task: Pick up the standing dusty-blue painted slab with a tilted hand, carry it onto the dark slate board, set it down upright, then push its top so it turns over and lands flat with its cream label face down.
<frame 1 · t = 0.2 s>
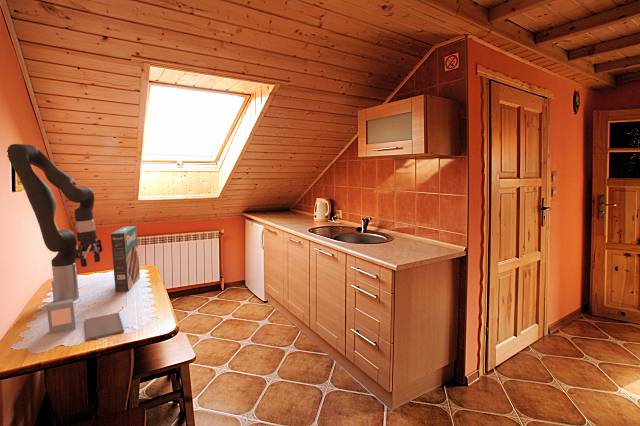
hand: (91, 264, 165), 18 cm above the table, tool pointing down, fingers open, 8 cm apart
cake mix box: (128, 284, 190), on the table
slab: (63, 329, 137), on the table
slate board: (103, 326, 140), on the table
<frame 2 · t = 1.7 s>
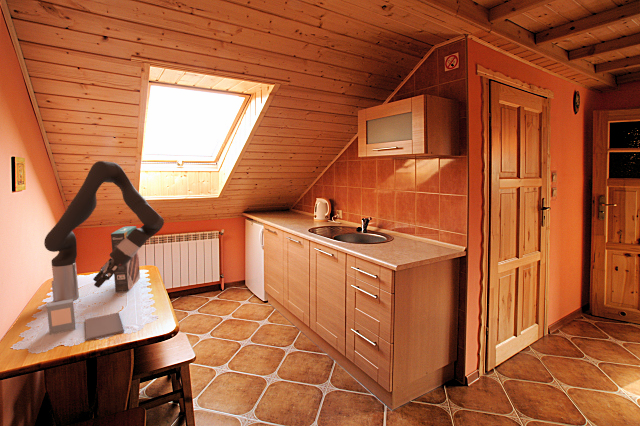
hand: (95, 283, 142), 16 cm above the table, tool tilted 45°, fingers open, 8 cm apart
nothing on the table moved.
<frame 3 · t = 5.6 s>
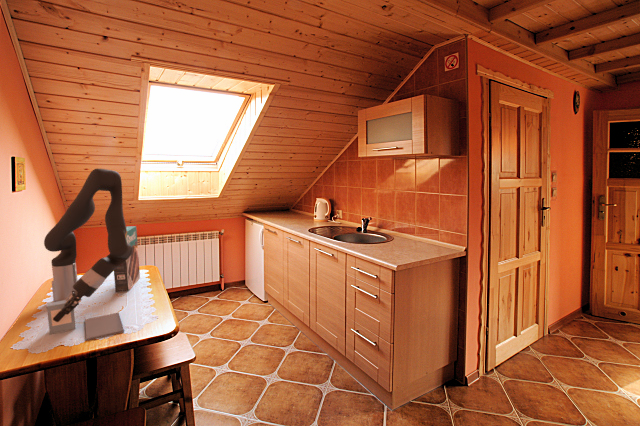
hand: (55, 318, 136), 5 cm above the table, tool tilted 45°, fingers closed on slab, 4 cm apart
slab: (63, 329, 137), on the table, touching gripper
everything else where it was.
when the fingers open (7 cm above the table, at t = 11.0 s): slab stays where it is, resting on slate board.
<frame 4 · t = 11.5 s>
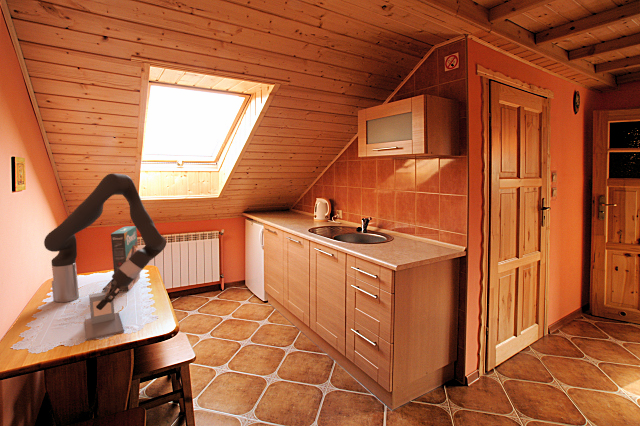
hand: (97, 305, 142), 7 cm above the table, tool tilted 45°, fingers open, 8 cm apart
slab: (103, 319, 144), point 1 cm above the table, touching slate board
everything else where it was.
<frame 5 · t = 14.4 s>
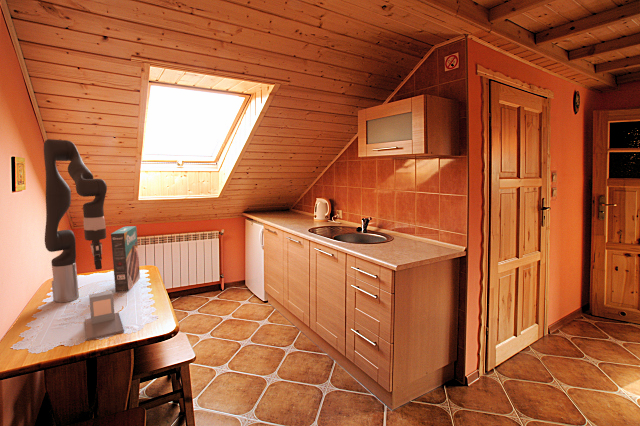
hand: (98, 266, 147), 21 cm above the table, tool pointing down, fingers open, 6 cm apart
nothing on the table moved.
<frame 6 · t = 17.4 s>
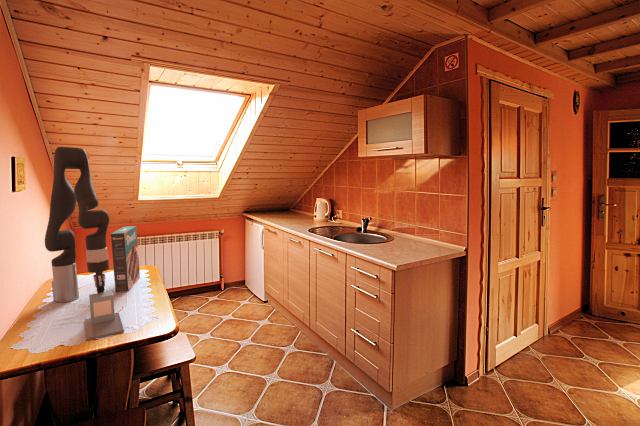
hand: (101, 300, 146), 8 cm above the table, tool pointing down, fingers closed
slab: (103, 319, 144), point 1 cm above the table, tilted 8°, touching slate board
everything else where it was.
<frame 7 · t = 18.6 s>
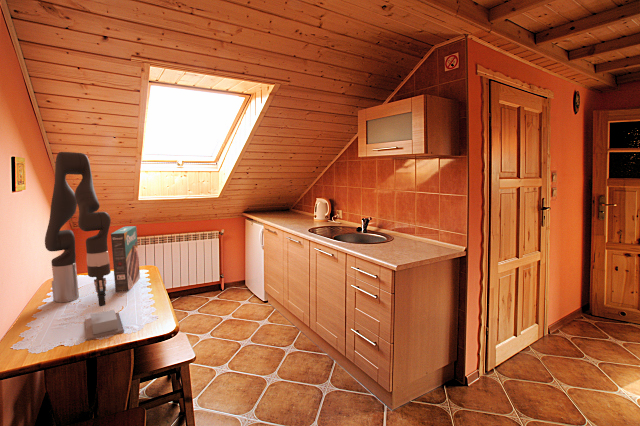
hand: (102, 305, 140), 8 cm above the table, tool pointing down, fingers closed
slab: (103, 316, 142), point 3 cm above the table, tilted 90°, touching slate board
everything else where it was.
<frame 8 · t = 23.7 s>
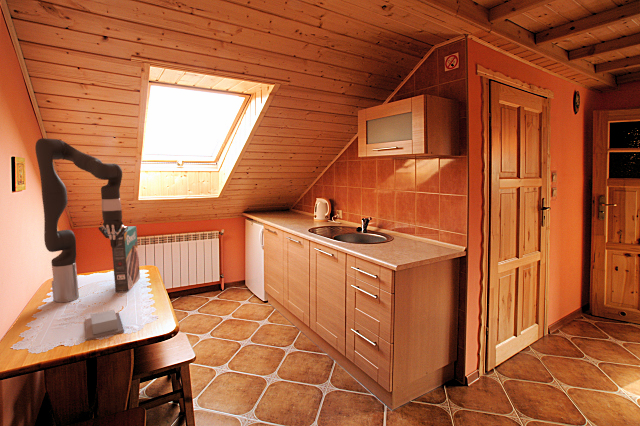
hand: (114, 247, 158), 27 cm above the table, tool pointing down, fingers closed
nothing on the table moved.
at the end: slab tilted 90°; slab inside the target area on the slate board (3.0 cm from its centre), point 2.9 cm above the slate board's base; the gripper is holding nothing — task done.
